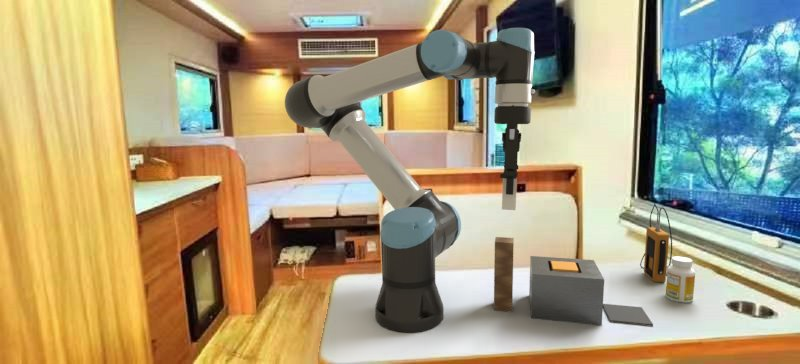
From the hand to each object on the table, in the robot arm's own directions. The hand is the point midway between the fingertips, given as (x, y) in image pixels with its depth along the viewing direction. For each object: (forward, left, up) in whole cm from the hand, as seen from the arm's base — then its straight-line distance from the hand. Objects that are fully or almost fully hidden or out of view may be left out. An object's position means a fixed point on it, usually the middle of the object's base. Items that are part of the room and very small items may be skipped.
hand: (508, 203), depth 91 cm
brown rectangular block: (-1, 0, -24) cm, 24 cm away
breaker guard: (+12, +2, -24) cm, 27 cm away
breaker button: (+12, +2, -21) cm, 24 cm away
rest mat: (+25, +2, -24) cm, 35 cm away
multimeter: (+41, +27, -25) cm, 55 cm away
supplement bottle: (+39, +14, -25) cm, 48 cm away
